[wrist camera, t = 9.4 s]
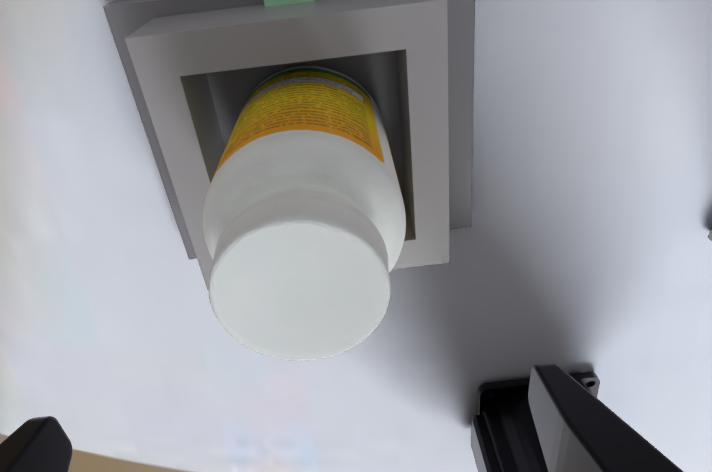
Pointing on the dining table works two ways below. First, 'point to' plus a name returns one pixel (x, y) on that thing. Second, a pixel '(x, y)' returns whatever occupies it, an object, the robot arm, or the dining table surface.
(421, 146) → the charging dock
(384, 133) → the supplement bottle
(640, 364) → the dining table surface
